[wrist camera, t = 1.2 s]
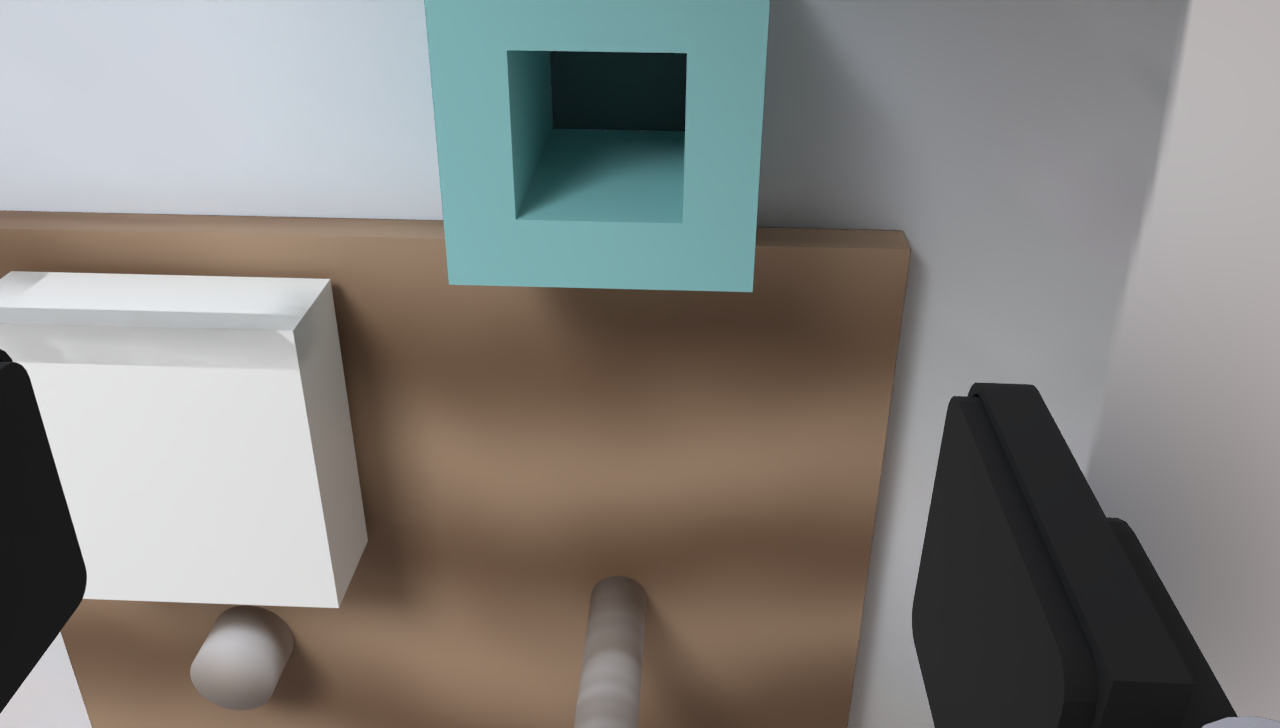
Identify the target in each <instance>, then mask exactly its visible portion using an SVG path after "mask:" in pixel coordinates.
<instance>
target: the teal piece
mask: <svg viewBox="0 0 1280 728" xmlns="http://www.w3.org/2000/svg"><path fill="white" fill-rule="evenodd" d="M424 3H425V14H426V26H427V37H428V49H429V60H430V72H431V83H432V95H433V106H434V118H435V129H436V141H437V152H438V164H439V175H440V187H441V198H442V210H443V221H444V233H445V244H446V256H447V267H448V279H449V285H482V286H523V287H564V288H605V289H645V290H686V291H727V292H753V276H754V259H755V243H756V226H757V209H758V192H759V175H760V158H761V141H762V125H763V108H764V91H765V74H766V57H767V40H768V23H769V7H770V0H424ZM550 51H585V52H648V53H687V73H686V114H685V131H644V130H591V129H553V121H552V91H551V62H550Z"/></svg>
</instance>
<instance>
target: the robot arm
mask: <svg viewBox="0 0 1280 728" xmlns="http://www.w3.org/2000/svg"><path fill="white" fill-rule="evenodd" d="M86 584H87V572H86V566H85V563H84V560H83V556H82V553H81V549H80V546H79V543H78V539H77V536H76V533H75V529H74V526H73V522H72V519H71V516H70V512H69V509H68V505H67V502H66V499H65V495H64V492H63V489H62V485H61V482H60V478H59V475H58V472H57V468H56V465H55V461H54V458H53V455H52V451H51V448H50V445H49V441H48V438H47V434H46V431H45V428H44V424H43V421H42V418H41V414H40V411H39V407H38V404H37V401H36V397H35V394H34V390H33V387H32V384H31V380H30V377H29V375H28V373H27V370H26V369H25V368H24V367H23V366H22V365H21V364H19V363H17V362H13V361H12V359H11V357H10V356H9V355H8V354H7V353H6V352H5V351H3V350H1V349H0V713H1V712H2V710H3V709H4V708H5V706H6V705H7V703H8V702H9V701H10V699H11V698H12V697H13V695H14V694H15V692H16V691H17V690H18V688H19V687H20V686H21V684H22V683H23V682H24V680H25V679H26V677H27V676H28V675H29V673H30V672H31V671H32V669H33V668H34V667H35V665H36V664H37V662H38V661H39V660H40V658H41V657H42V656H43V654H44V653H45V651H46V650H47V649H48V647H49V646H50V645H51V643H52V642H53V641H54V639H55V638H56V636H57V635H58V634H59V632H60V631H61V630H62V628H63V627H64V625H65V624H66V623H67V621H68V620H69V619H70V617H71V616H72V615H73V613H74V612H75V610H76V609H77V608H78V606H79V604H80V603H81V601H82V599H83V596H84V593H85V589H86ZM912 630H913V638H914V643H915V648H916V652H917V656H918V660H919V664H920V668H921V672H922V676H923V680H924V685H925V689H926V693H927V697H928V701H929V705H930V709H931V713H932V717H933V721H934V726H935V728H1280V721H1276V720H1271V719H1266V718H1261V717H1237V715H1236V713H1235V711H1234V709H1233V708H1232V706H1231V704H1230V702H1229V700H1228V699H1227V697H1226V695H1225V693H1224V692H1223V690H1222V688H1221V686H1220V684H1219V683H1218V681H1217V679H1216V677H1215V676H1214V674H1213V672H1212V670H1211V668H1210V667H1209V665H1208V663H1207V661H1206V660H1205V658H1204V656H1203V654H1202V653H1201V651H1200V649H1199V647H1198V645H1197V644H1196V642H1195V640H1194V638H1193V636H1192V635H1191V633H1190V631H1189V630H1188V627H1187V626H1186V624H1185V622H1184V620H1183V619H1182V617H1181V615H1180V613H1179V611H1178V610H1177V608H1176V606H1175V605H1174V603H1173V601H1172V599H1171V597H1170V595H1169V594H1168V592H1167V590H1166V588H1165V587H1164V585H1163V583H1162V581H1161V580H1160V578H1159V576H1158V574H1157V572H1156V571H1155V569H1154V567H1153V565H1152V563H1151V562H1150V560H1149V558H1148V557H1147V555H1146V553H1145V551H1144V549H1143V547H1142V546H1141V544H1140V542H1139V540H1138V539H1137V537H1136V535H1135V533H1134V532H1133V530H1132V529H1131V528H1130V527H1129V526H1128V524H1127V523H1126V522H1125V521H1123V520H1121V519H1118V518H1106V516H1105V514H1104V513H1103V511H1102V509H1101V507H1100V505H1099V503H1098V501H1097V499H1096V498H1095V496H1094V494H1093V492H1092V490H1091V488H1090V486H1089V485H1088V483H1087V481H1086V479H1085V477H1084V475H1083V473H1082V472H1081V470H1080V468H1079V466H1078V464H1077V462H1076V460H1075V458H1074V457H1073V455H1072V453H1071V451H1070V449H1069V447H1068V445H1067V444H1066V442H1065V440H1064V438H1063V436H1062V434H1061V432H1060V430H1059V429H1058V427H1057V425H1056V423H1055V421H1054V419H1053V417H1052V416H1051V414H1050V412H1049V410H1048V408H1047V406H1046V404H1045V403H1044V401H1043V399H1042V397H1041V395H1040V393H1039V391H1038V390H1037V389H1036V387H1035V386H1034V385H1027V384H999V383H974V384H973V385H972V386H971V389H970V391H969V393H968V397H960V396H953V397H952V398H951V400H950V402H949V405H948V410H947V415H946V420H945V426H944V432H943V437H942V443H941V449H940V454H939V460H938V465H937V471H936V477H935V482H934V488H933V494H932V499H931V505H930V511H929V516H928V522H927V528H926V533H925V539H924V545H923V550H922V556H921V562H920V567H919V573H918V579H917V584H916V590H915V596H914V601H913V609H912Z"/></svg>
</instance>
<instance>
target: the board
mask: <svg viewBox="0 0 1280 728" xmlns="http://www.w3.org/2000/svg"><path fill="white" fill-rule="evenodd" d="M910 252H911V249H910V246H909V244H908V242H907V239H906V237H905V235H904V232H903V231H899V230H854V229H809V228H763V227H756V243H755V259H754V276H753V292H727V291H686V290H645V289H605V288H564V287H523V286H482V285H449V279H448V267H447V256H446V244H445V233H444V221H443V220H401V219H355V218H310V217H265V216H219V215H174V214H129V213H83V212H38V211H0V279H1V278H3V277H4V276H5V275H7V274H8V273H9V272H11V271H25V272H66V273H107V274H148V275H189V276H230V277H271V278H312V279H330V280H331V287H332V294H333V301H334V308H335V315H336V322H337V329H338V336H339V343H340V350H341V357H342V364H343V371H344V377H345V384H346V391H347V398H348V405H349V412H350V419H351V426H352V433H353V440H354V447H355V454H356V461H357V468H358V475H359V482H360V489H361V496H362V503H363V510H364V517H365V524H366V531H367V538H368V542H367V544H366V546H365V549H364V551H363V553H362V556H361V558H360V560H359V563H358V565H357V567H356V570H355V572H354V574H353V577H352V579H351V581H350V584H349V586H348V588H347V591H346V593H345V595H344V598H343V600H342V602H341V605H340V607H339V608H321V607H293V606H266V605H239V604H211V603H184V602H157V601H129V600H102V599H82V601H81V603H80V604H79V606H78V608H77V609H76V610H75V612H74V613H73V615H72V616H71V617H70V619H69V620H68V621H67V623H66V624H65V625H64V627H63V628H62V630H61V634H62V637H63V640H64V643H65V646H66V649H67V653H68V656H69V659H70V662H71V665H72V668H73V671H74V674H75V677H76V680H77V683H78V686H79V689H80V692H81V695H82V698H83V701H84V704H85V707H86V710H87V713H88V716H89V719H90V722H91V726H92V728H847V726H848V718H849V711H850V703H851V696H852V688H853V681H854V673H855V666H856V658H857V651H858V643H859V636H860V628H861V621H862V613H863V606H864V598H865V590H866V583H867V575H868V568H869V560H870V553H871V545H872V538H873V530H874V523H875V515H876V508H877V500H878V493H879V485H880V478H881V470H882V463H883V455H884V448H885V440H886V433H887V425H888V418H889V410H890V403H891V395H892V388H893V380H894V373H895V365H896V357H897V350H898V342H899V335H900V327H901V320H902V312H903V305H904V297H905V290H906V282H907V275H908V267H909V260H910Z"/></svg>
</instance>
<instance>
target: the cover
mask: <svg viewBox="0 0 1280 728" xmlns="http://www.w3.org/2000/svg"><path fill="white" fill-rule="evenodd" d="M0 349H1V350H3V351H5V352H6V353H7V354H8V355H9V356H10V357H11V359H12V361H13V362H17V363H19V364H21V365H22V366H23V367H24V368H25V369H26V370H27V373H28V375H29V377H30V380H31V384H32V387H33V390H34V394H35V397H36V401H37V404H38V407H39V411H40V414H41V418H42V421H43V424H44V428H45V431H46V434H47V438H48V441H49V445H50V448H51V451H52V455H53V458H54V461H55V465H56V468H57V472H58V475H59V478H60V482H61V485H62V489H63V492H64V495H65V499H66V502H67V505H68V509H69V512H70V516H71V519H72V522H73V526H74V529H75V533H76V536H77V539H78V543H79V546H80V549H81V553H82V556H83V560H84V563H85V566H86V572H87V584H86V589H85V593H84V596H83V599H102V600H129V601H157V602H184V603H211V604H239V605H266V606H293V607H321V608H339V607H340V605H341V602H342V600H343V598H344V595H345V593H346V591H347V588H348V586H349V584H350V581H351V579H352V577H353V574H354V572H355V570H356V567H357V565H358V563H359V560H360V558H361V556H362V553H363V551H364V549H365V546H366V544H367V542H368V538H367V531H366V524H365V517H364V510H363V503H362V496H361V489H360V482H359V475H358V468H357V461H356V454H355V447H354V440H353V433H352V426H351V419H350V412H349V405H348V398H347V391H346V384H345V377H344V371H343V364H342V357H341V350H340V343H339V336H338V329H337V322H336V315H335V308H334V301H333V294H332V287H331V280H330V279H312V278H271V277H230V276H189V275H148V274H107V273H66V272H25V271H11V272H9V273H8V274H7V275H5V276H4V277H3V278H1V279H0Z"/></svg>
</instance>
